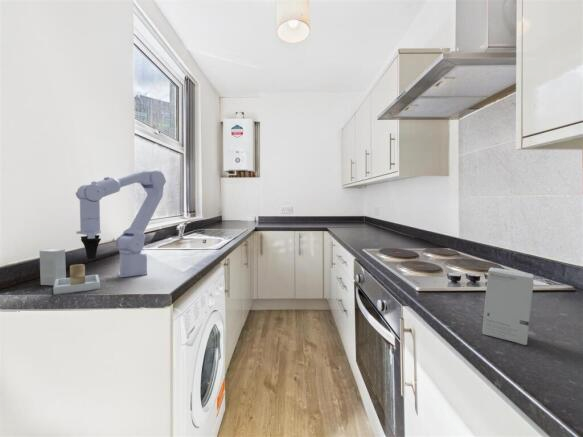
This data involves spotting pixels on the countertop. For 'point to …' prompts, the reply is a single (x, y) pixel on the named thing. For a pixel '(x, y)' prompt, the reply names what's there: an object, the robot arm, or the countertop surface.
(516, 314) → the skincare box
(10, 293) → the countertop surface
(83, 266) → the birch cylinder
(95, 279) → the tray
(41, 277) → the skincare box
